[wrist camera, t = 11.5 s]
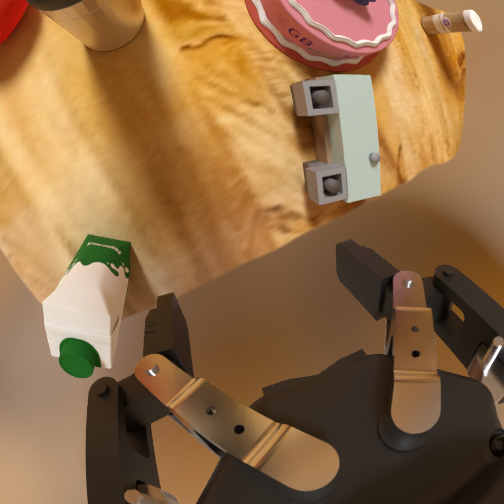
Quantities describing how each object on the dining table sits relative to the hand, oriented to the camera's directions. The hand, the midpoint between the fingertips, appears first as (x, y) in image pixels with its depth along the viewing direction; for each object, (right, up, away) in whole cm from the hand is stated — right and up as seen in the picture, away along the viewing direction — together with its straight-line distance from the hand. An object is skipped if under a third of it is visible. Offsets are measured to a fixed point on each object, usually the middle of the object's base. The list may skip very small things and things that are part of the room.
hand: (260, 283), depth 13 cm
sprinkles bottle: (+35, +47, +19) cm, 62 cm away
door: (+11, +18, +23) cm, 31 cm away
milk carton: (-23, +1, +26) cm, 34 cm away
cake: (+10, +40, +16) cm, 44 cm away
